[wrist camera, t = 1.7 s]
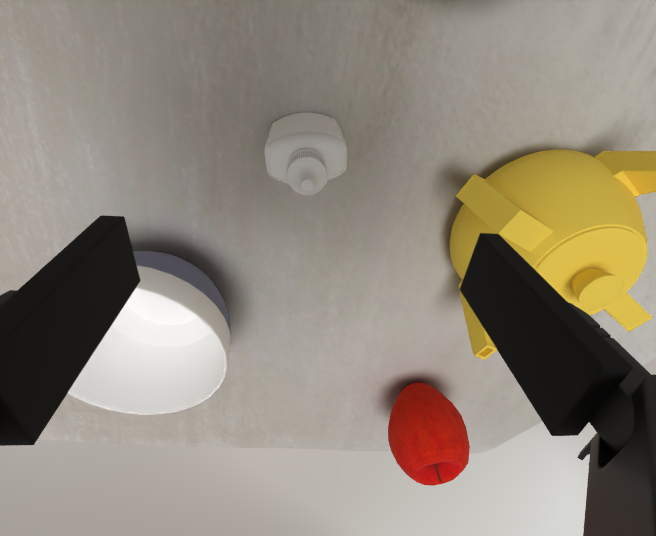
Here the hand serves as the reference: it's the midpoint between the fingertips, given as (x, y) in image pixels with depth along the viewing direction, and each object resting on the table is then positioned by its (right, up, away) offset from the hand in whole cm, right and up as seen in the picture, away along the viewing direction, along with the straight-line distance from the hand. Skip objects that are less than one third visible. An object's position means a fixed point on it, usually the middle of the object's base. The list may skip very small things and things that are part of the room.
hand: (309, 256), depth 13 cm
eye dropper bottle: (-1, +11, +16) cm, 20 cm away
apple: (+13, -18, +37) cm, 43 cm away
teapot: (+20, +4, +22) cm, 30 cm away
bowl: (-17, -3, +24) cm, 29 cm away
